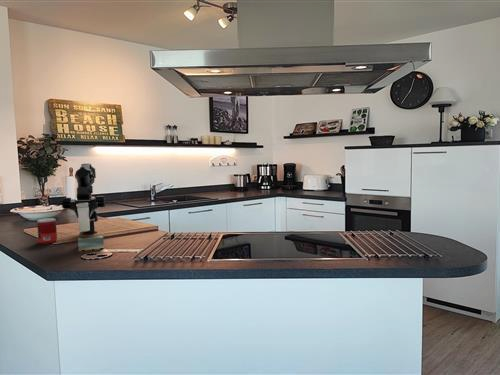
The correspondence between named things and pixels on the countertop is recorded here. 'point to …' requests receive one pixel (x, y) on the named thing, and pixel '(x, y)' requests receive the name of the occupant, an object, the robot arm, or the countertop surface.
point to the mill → (83, 217)
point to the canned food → (47, 230)
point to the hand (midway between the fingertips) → (83, 217)
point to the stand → (90, 243)
